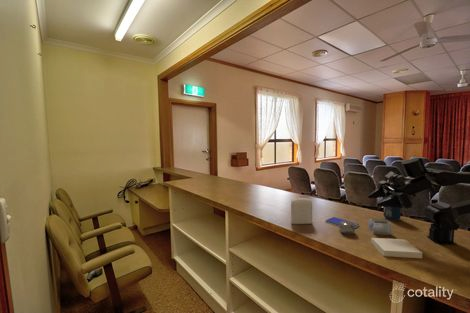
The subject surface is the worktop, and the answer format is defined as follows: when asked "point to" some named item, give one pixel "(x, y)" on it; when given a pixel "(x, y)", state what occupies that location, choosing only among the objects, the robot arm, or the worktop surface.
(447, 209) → the robot arm
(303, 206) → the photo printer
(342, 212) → the worktop surface
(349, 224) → the tin
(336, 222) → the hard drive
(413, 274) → the worktop surface
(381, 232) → the housing
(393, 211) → the soda can
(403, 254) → the stand
